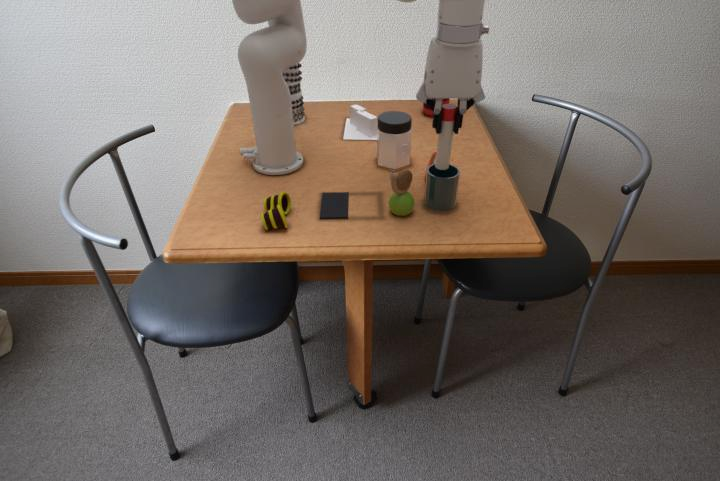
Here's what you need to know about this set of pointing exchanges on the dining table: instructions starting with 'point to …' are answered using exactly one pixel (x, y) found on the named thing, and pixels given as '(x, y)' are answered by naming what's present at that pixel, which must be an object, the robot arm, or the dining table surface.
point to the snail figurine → (401, 193)
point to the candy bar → (432, 161)
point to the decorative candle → (295, 92)
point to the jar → (394, 139)
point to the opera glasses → (276, 210)
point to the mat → (334, 205)
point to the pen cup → (441, 188)
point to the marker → (445, 136)
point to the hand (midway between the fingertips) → (446, 130)
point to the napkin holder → (360, 124)
